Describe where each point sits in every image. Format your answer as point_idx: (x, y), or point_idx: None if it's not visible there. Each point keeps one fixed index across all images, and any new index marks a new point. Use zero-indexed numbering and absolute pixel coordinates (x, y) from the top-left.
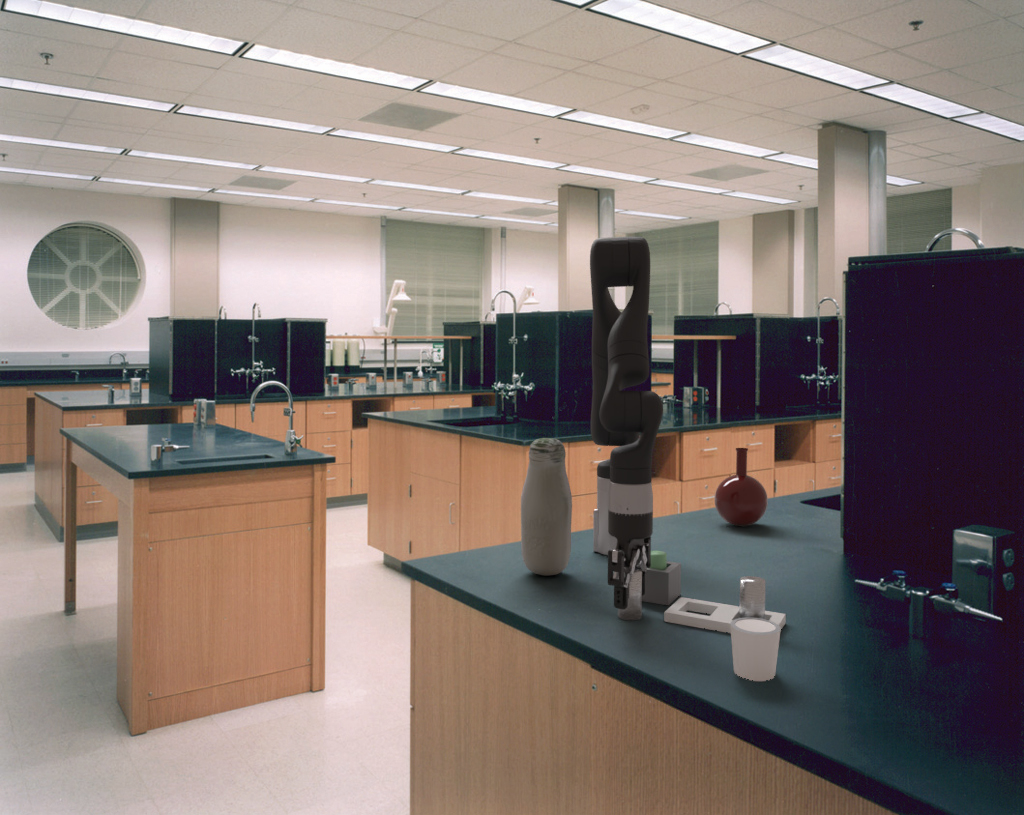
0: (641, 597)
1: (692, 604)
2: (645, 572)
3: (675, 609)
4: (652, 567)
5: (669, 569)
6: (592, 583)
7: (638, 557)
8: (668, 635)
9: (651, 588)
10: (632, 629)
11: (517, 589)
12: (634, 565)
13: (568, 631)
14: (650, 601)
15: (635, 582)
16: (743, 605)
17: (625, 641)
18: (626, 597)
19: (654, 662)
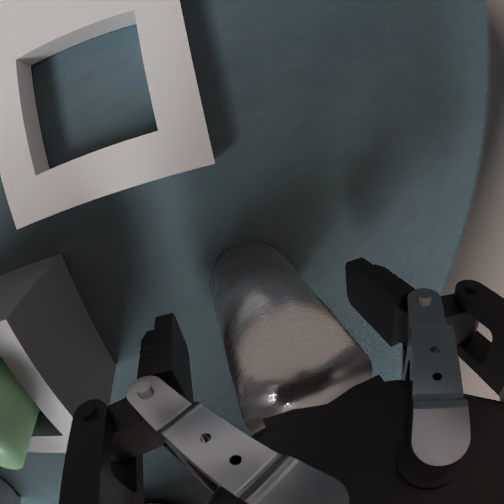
0: (252, 276)
1: (35, 155)
2: (152, 381)
3: (151, 148)
4: (28, 404)
5: None
6: None
7: (414, 411)
8: (320, 83)
9: (73, 339)
10: (345, 202)
11: None
12: (426, 363)
13: None
14: (87, 314)
15: (330, 317)
16: None
17: (420, 168)
18: (381, 274)
19: (461, 62)
